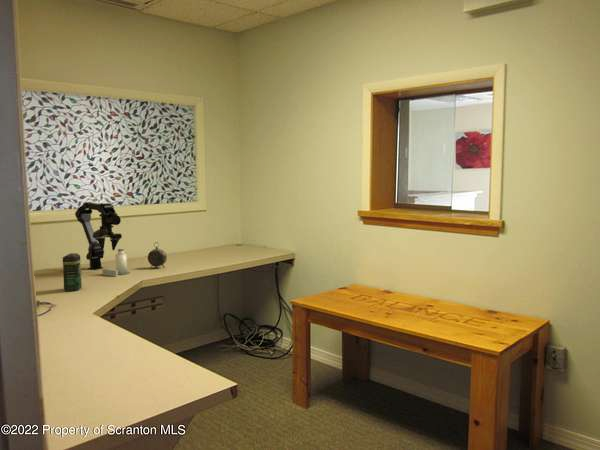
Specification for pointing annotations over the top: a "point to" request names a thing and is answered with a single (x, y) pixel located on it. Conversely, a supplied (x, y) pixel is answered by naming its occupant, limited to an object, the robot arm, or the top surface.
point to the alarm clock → (157, 257)
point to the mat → (124, 273)
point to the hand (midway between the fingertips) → (107, 249)
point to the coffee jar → (72, 272)
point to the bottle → (121, 262)
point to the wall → (110, 272)
